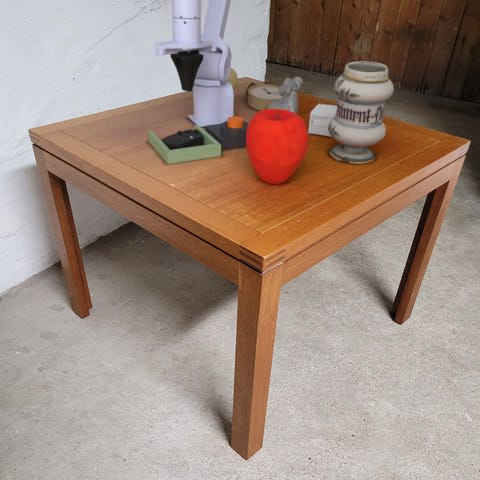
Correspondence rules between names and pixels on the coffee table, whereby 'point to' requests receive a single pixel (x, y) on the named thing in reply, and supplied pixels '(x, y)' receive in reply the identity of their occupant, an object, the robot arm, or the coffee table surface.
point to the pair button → (235, 122)
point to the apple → (276, 144)
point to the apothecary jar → (360, 111)
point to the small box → (321, 119)
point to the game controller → (183, 139)
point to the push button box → (228, 135)
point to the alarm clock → (261, 94)
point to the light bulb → (233, 79)
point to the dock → (190, 153)
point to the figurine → (288, 95)
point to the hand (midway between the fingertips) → (187, 90)
